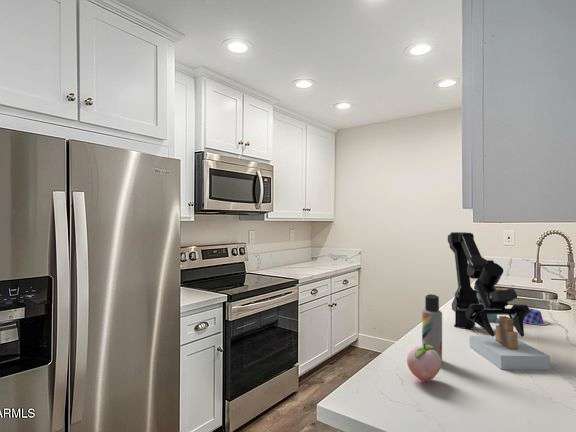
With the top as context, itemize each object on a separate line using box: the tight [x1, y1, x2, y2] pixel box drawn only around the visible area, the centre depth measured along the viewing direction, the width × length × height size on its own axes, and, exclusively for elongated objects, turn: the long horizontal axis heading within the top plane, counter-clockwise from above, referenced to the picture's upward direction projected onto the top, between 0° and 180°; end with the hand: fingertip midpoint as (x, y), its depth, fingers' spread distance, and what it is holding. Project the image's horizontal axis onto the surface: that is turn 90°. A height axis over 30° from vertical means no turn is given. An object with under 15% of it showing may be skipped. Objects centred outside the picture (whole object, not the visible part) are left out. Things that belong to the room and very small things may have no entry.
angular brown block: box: [495, 315, 519, 350], centre depth 111 cm, size 8×2×12 cm, turn 179°
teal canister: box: [476, 290, 498, 323], centre depth 155 cm, size 10×10×12 cm
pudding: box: [523, 308, 550, 326], centre depth 152 cm, size 12×12×5 cm
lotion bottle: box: [421, 293, 443, 363], centre depth 109 cm, size 6×6×20 cm
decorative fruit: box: [406, 344, 442, 383], centre depth 95 cm, size 9×8×10 cm
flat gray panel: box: [469, 334, 551, 371], centre depth 111 cm, size 18×14×4 cm
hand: (508, 336), depth 110 cm, fingers open, 9 cm apart
